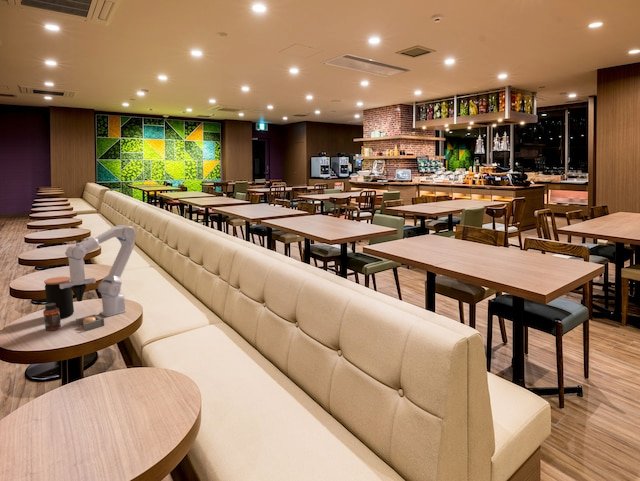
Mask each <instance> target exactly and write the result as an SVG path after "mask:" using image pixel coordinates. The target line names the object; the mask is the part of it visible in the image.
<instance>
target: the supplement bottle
mask: <svg viewBox="0 0 640 481" xmlns="http://www.w3.org/2000/svg"><path fill="white" fill-rule="evenodd" d="M42 313H43V319H44V321H43V322H44V328H45V330H46V331H47V332H48V331H49V332H50V331H56V330H59V329H60V328H62V322H61V319H60V313H59V308H57V307H56V303H49V304H47V303H46V304H45V305H44V310H43V311H42Z"/></svg>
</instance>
